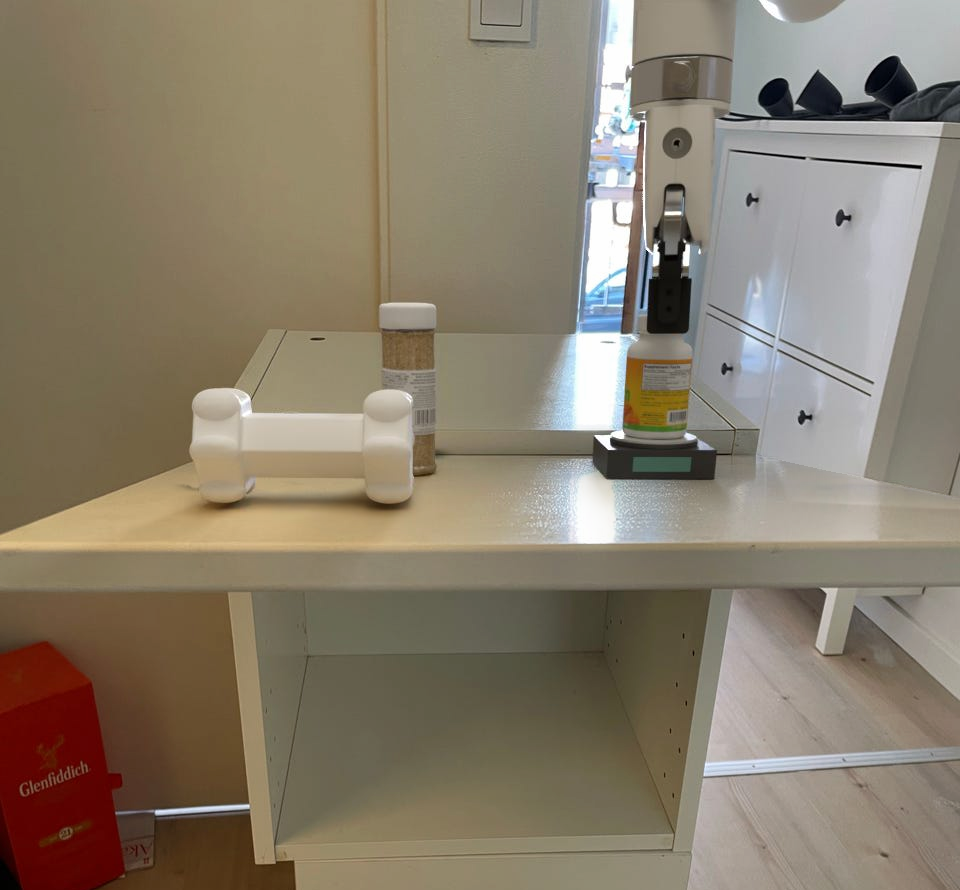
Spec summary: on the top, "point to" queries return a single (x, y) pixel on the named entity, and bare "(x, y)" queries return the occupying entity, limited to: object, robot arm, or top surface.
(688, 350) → the supplement bottle
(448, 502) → the top surface
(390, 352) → the sprinkles bottle
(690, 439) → the scale
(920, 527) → the top surface
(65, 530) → the top surface
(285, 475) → the white bone
